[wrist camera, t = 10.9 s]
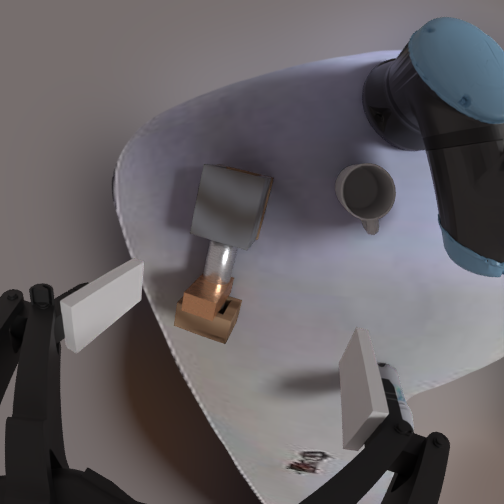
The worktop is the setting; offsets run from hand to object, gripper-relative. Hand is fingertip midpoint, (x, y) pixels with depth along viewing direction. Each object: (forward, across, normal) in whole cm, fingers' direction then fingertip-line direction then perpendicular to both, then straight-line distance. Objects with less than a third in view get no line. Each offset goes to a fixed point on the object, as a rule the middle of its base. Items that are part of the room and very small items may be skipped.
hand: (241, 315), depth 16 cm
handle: (+29, -8, -10) cm, 32 cm away
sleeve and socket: (+31, -8, -7) cm, 32 cm away
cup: (+31, +10, +7) cm, 33 cm away
